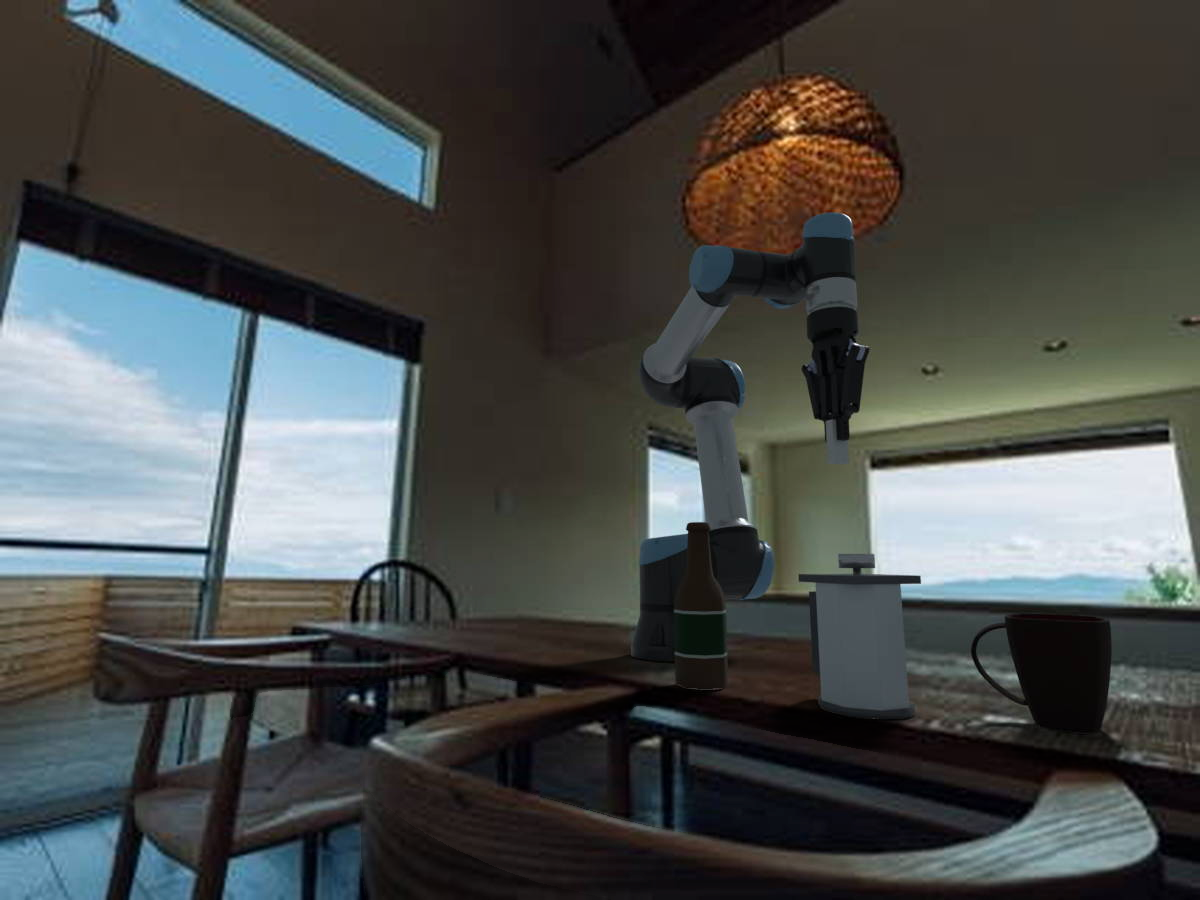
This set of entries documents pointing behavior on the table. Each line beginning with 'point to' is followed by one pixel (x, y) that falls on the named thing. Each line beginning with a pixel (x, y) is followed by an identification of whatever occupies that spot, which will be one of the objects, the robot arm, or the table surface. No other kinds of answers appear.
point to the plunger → (856, 562)
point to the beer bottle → (700, 618)
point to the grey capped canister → (860, 644)
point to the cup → (1058, 668)
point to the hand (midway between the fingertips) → (838, 463)
